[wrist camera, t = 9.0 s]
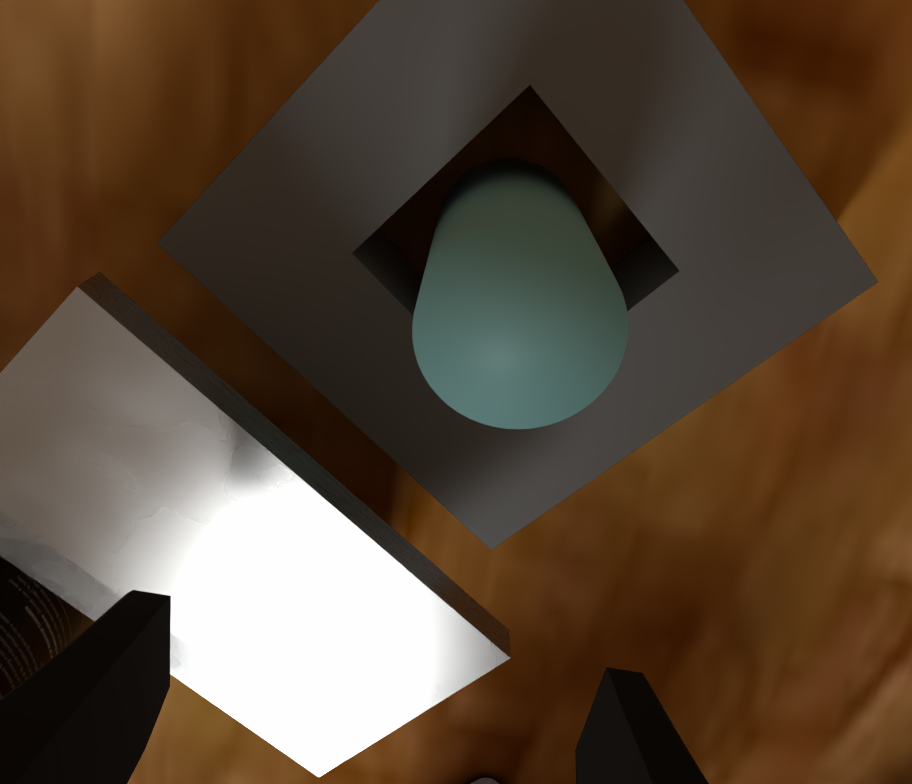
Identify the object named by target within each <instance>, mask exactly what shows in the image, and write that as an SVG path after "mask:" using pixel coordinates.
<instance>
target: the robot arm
mask: <svg viewBox="0 0 912 784" xmlns="http://www.w3.org/2000/svg"><path fill="white" fill-rule="evenodd" d="M170 621H171V596H169V595H162V594H156V593H150V592H144V591H138V590H132V591H130V592H128V593H127V594H125V595H124V596H123V597H122V598H121V599H120V600H119V601H118V602H116V603H115V604H114V605H113V606H112V607H111V608H110V609H108V610H107V611H106V612H105V613H104V614H103V615H102V616H101V617H99V618H98V619H97V620H96V621H95V622H94V623H93V624H91V625H90V626H89V627H88V628H87V629H86V630H85V631H83V632H82V633H81V634H80V635H79V636H78V637H76V638H75V639H74V640H73V641H72V642H71V643H69V644H68V645H67V646H66V647H65V648H63V649H62V650H61V651H60V652H59V653H58V654H56V655H55V656H54V657H53V658H51V659H50V660H49V661H48V662H46V663H45V664H44V665H43V666H42V667H40V668H39V669H38V670H37V671H35V672H34V673H33V674H32V675H30V676H29V677H28V678H27V679H26V680H24V681H23V682H22V683H21V684H19V685H18V686H17V687H16V688H14V689H13V690H12V691H11V692H9V693H8V694H7V695H5V696H4V697H3V698H1V699H0V784H127V783H128V781H129V779H130V777H131V775H132V773H133V771H134V769H135V767H136V765H137V763H138V762H139V760H140V758H141V756H142V754H143V752H144V750H145V748H146V745H147V743H148V740H149V738H150V735H151V733H152V730H153V728H154V725H155V723H156V721H157V718H158V715H159V713H160V710H161V708H162V705H163V702H164V700H165V697H166V695H167V692H168V690H169V687H170ZM575 754H576V784H709V783H708V782H707V780H706V779H705V777H704V775H703V774H702V772H701V771H700V769H699V767H698V766H697V764H696V763H695V761H694V759H693V758H692V756H691V754H690V753H689V751H688V749H687V748H686V746H685V744H684V743H683V741H682V739H681V738H680V736H679V734H678V733H677V731H676V729H675V728H674V726H673V724H672V722H671V721H670V719H669V717H668V716H667V714H666V712H665V710H664V709H663V707H662V705H661V703H660V702H659V700H658V698H657V696H656V695H655V693H654V691H653V690H652V688H651V686H650V684H649V683H648V681H647V679H646V678H645V676H644V675H643V673H638V672H632V671H626V670H620V669H614V668H608V667H606V670H605V673H604V675H603V678H602V681H601V683H600V686H599V689H598V691H597V694H596V697H595V699H594V702H593V705H592V707H591V710H590V713H589V715H588V718H587V721H586V723H585V726H584V729H583V731H582V734H581V737H580V739H579V742H578V745H577V747H576V750H575ZM471 784H499V783H498V782H497V781H495V780H493V779H491V778H481V779H478V780H476V781H474V782H473V783H471Z"/></svg>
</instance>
